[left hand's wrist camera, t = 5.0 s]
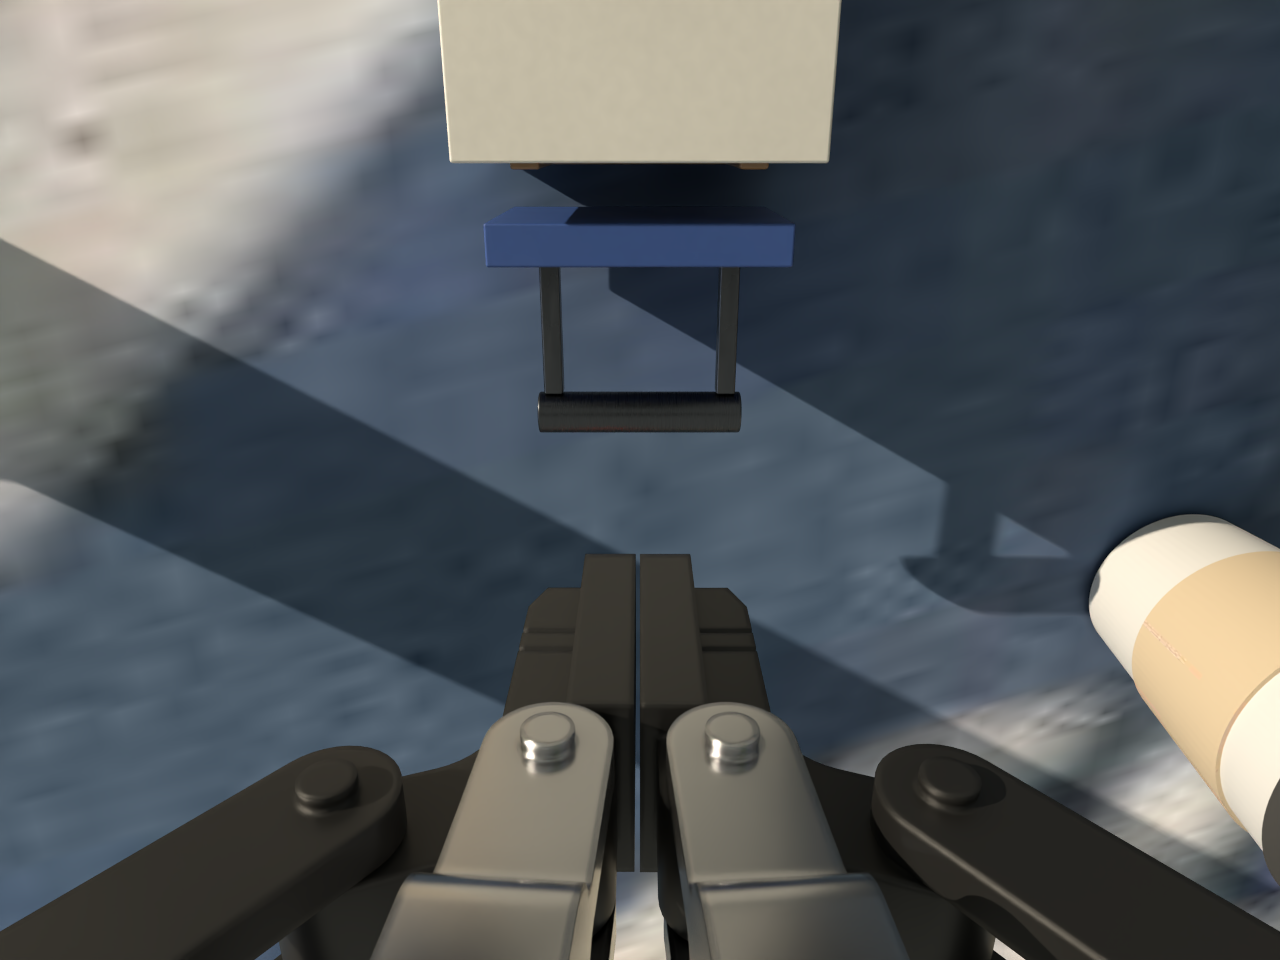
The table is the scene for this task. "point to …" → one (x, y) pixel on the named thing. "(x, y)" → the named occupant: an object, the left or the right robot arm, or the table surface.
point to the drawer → (639, 243)
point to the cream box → (639, 80)
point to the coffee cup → (1205, 654)
